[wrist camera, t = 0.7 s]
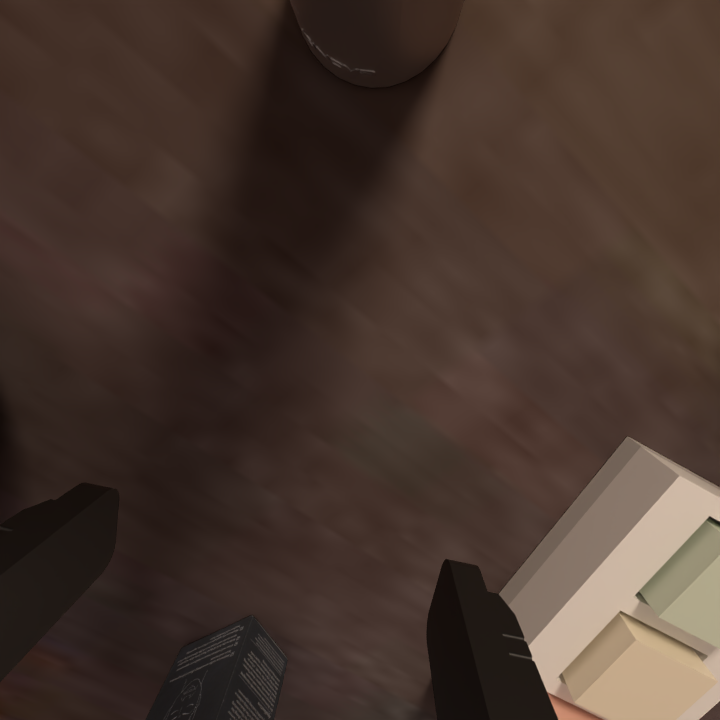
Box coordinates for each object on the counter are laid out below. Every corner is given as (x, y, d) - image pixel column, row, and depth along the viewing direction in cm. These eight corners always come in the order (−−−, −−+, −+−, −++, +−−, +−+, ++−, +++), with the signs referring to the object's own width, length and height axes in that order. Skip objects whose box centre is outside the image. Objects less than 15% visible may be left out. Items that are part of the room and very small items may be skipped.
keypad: (627, 436, 27) (679, 475, 22) (819, 542, 28) (908, 601, 23) (434, 672, 34) (443, 742, 29) (597, 750, 35) (631, 830, 30)
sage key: (691, 508, 24) (732, 542, 22) (769, 551, 25) (820, 590, 22) (628, 576, 26) (658, 617, 23) (702, 615, 26) (742, 660, 23)
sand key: (608, 597, 26) (636, 639, 24) (682, 635, 27) (718, 681, 24) (554, 656, 28) (574, 702, 25) (625, 691, 28) (652, 741, 26)
